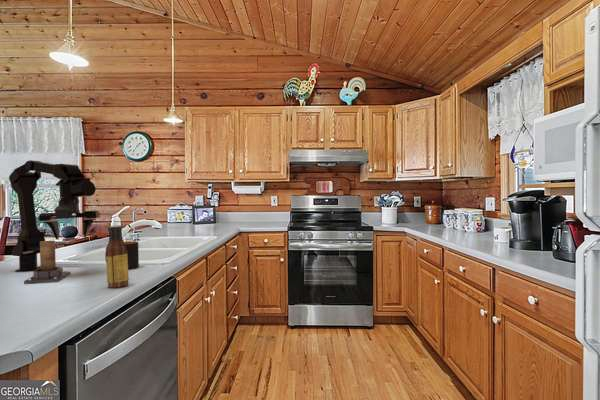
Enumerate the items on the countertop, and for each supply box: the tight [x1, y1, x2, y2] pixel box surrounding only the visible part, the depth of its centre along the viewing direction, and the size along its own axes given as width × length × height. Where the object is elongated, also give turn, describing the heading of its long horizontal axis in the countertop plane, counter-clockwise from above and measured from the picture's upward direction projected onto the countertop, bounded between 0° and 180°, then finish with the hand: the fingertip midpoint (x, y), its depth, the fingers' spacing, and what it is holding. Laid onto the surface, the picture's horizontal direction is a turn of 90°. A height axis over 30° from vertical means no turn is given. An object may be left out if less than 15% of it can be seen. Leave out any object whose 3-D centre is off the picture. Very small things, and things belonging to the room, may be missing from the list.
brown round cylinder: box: [39, 239, 57, 271], centre depth 124 cm, size 4×4×12 cm
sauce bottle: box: [105, 225, 130, 289], centre depth 114 cm, size 7×6×20 cm
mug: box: [104, 240, 140, 271], centre depth 141 cm, size 8×12×10 cm
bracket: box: [23, 266, 71, 285], centre depth 124 cm, size 12×10×4 cm
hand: (71, 238), depth 131 cm, fingers open, 9 cm apart
